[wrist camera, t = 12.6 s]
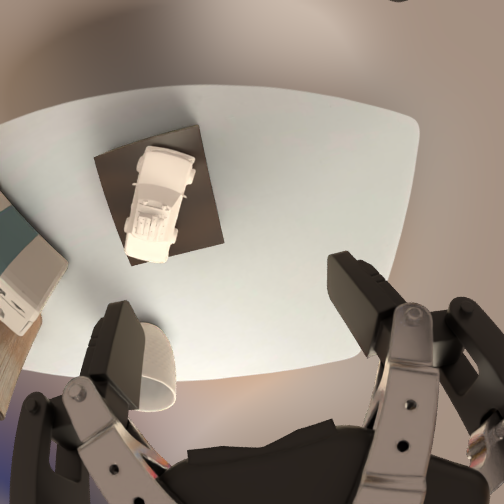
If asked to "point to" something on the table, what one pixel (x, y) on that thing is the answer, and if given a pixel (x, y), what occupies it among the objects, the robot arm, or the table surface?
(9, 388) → the planter
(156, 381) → the mug
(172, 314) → the table surface
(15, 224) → the radio
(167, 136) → the stand
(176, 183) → the toy car
